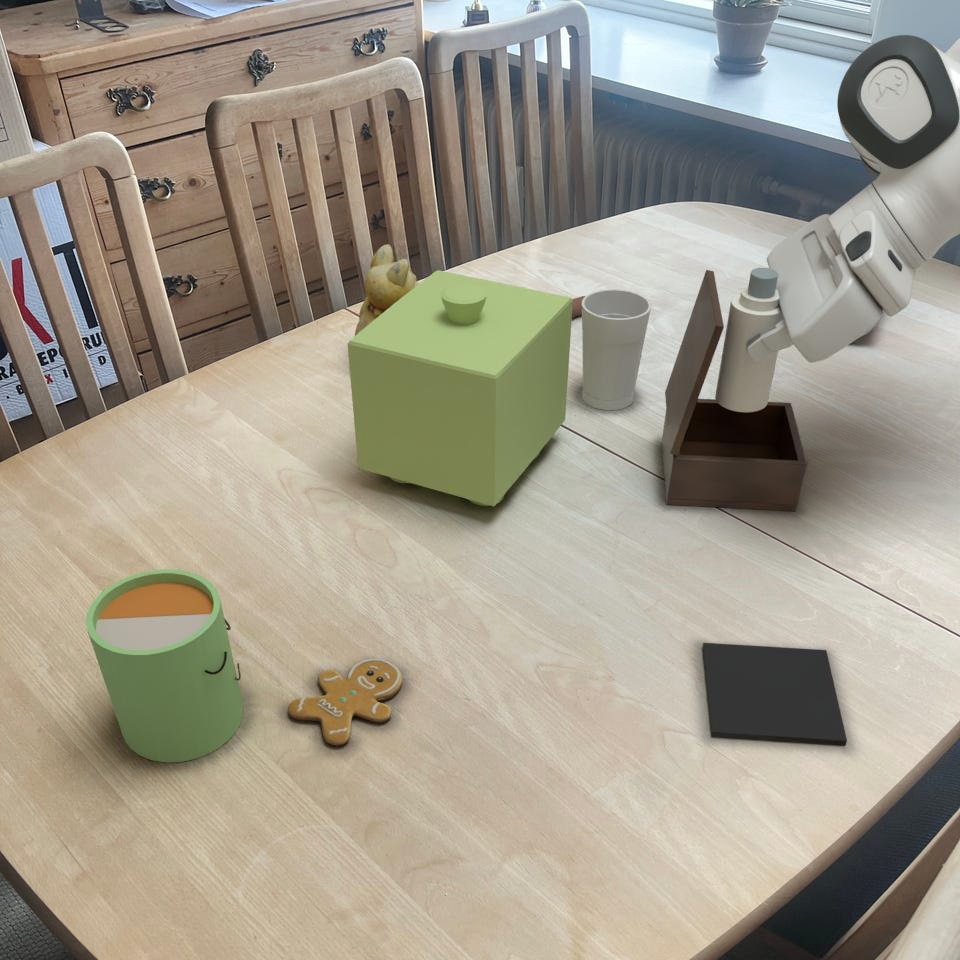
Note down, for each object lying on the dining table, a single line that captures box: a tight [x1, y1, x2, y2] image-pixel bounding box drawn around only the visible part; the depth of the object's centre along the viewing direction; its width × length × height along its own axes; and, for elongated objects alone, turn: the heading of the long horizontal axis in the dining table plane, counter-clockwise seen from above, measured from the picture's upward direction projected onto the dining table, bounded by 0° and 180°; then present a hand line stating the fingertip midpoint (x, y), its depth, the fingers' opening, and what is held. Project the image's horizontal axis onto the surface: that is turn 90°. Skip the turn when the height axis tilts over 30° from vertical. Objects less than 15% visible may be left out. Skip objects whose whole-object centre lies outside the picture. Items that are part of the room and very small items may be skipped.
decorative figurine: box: [354, 243, 420, 336], centre depth 129 cm, size 10×8×15 cm
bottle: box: [714, 267, 784, 412], centre depth 105 cm, size 5×5×14 cm
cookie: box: [287, 658, 403, 746], centre depth 90 cm, size 8×1×10 cm
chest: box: [661, 398, 808, 512], centre depth 114 cm, size 14×13×6 cm
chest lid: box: [664, 269, 725, 455], centre depth 107 cm, size 14×13×1 cm
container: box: [347, 269, 573, 507], centre depth 111 cm, size 19×16×20 cm
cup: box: [581, 288, 652, 411], centre depth 124 cm, size 8×8×12 cm
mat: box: [702, 642, 848, 746], centre depth 91 cm, size 11×11×1 cm
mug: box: [85, 568, 244, 763], centre depth 86 cm, size 13×10×12 cm
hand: (746, 338), depth 104 cm, fingers closed on bottle, 5 cm apart
